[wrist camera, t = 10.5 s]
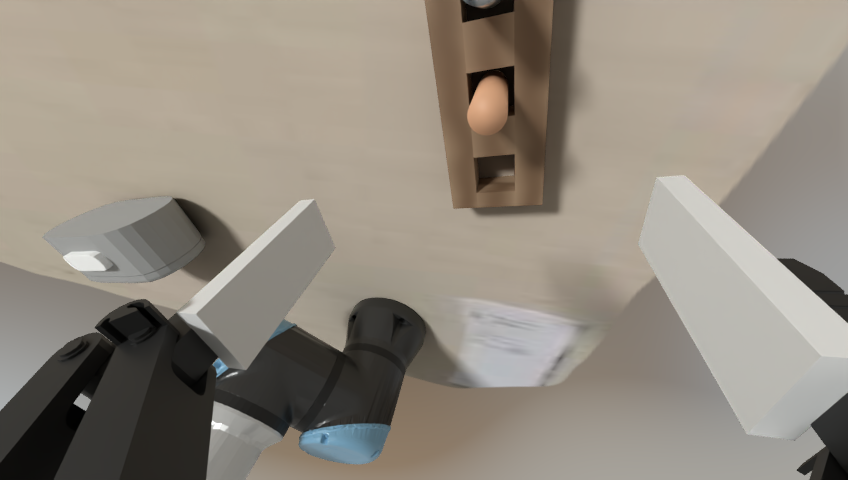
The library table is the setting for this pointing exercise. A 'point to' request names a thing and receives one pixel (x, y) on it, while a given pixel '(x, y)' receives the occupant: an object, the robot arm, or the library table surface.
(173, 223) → the alarm clock
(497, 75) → the orange rounded rod
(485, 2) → the grey peg
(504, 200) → the hole block
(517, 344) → the library table surface
